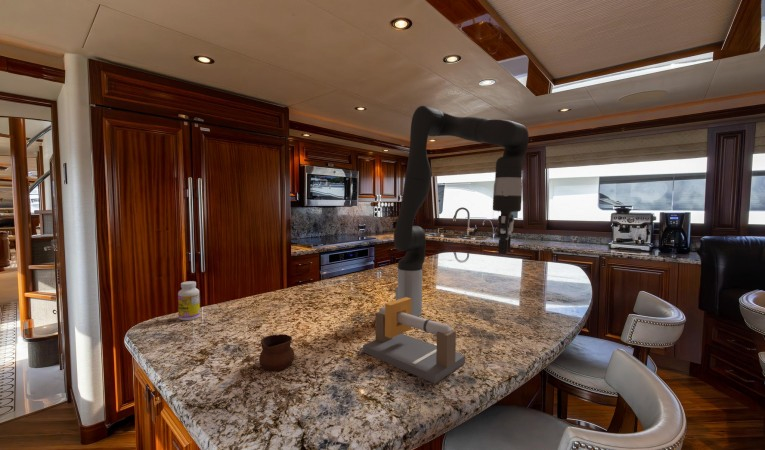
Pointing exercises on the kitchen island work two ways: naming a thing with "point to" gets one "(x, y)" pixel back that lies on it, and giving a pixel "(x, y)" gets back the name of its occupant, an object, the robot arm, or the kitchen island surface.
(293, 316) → the kitchen island surface
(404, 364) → the pipe stand
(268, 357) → the ceramic pot
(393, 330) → the orange square ring
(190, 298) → the supplement bottle
